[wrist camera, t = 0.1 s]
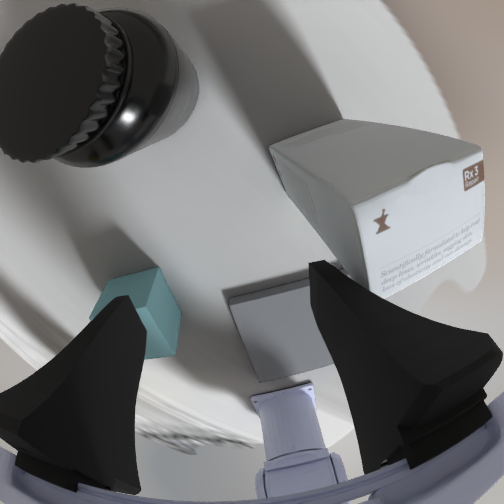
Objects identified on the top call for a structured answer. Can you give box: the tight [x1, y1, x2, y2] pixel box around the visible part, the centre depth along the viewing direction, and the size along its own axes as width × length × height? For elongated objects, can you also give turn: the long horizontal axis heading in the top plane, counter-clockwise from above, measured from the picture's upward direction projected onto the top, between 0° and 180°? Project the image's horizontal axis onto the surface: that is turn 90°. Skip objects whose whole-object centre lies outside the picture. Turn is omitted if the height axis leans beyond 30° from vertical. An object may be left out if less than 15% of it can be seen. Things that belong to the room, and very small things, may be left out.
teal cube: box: [89, 267, 182, 360], centre depth 20 cm, size 5×5×5 cm
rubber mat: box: [229, 269, 352, 383], centre depth 25 cm, size 12×12×1 cm
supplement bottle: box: [0, 3, 199, 168], centre depth 9 cm, size 7×7×12 cm
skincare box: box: [269, 119, 485, 299], centre depth 12 cm, size 6×4×12 cm
